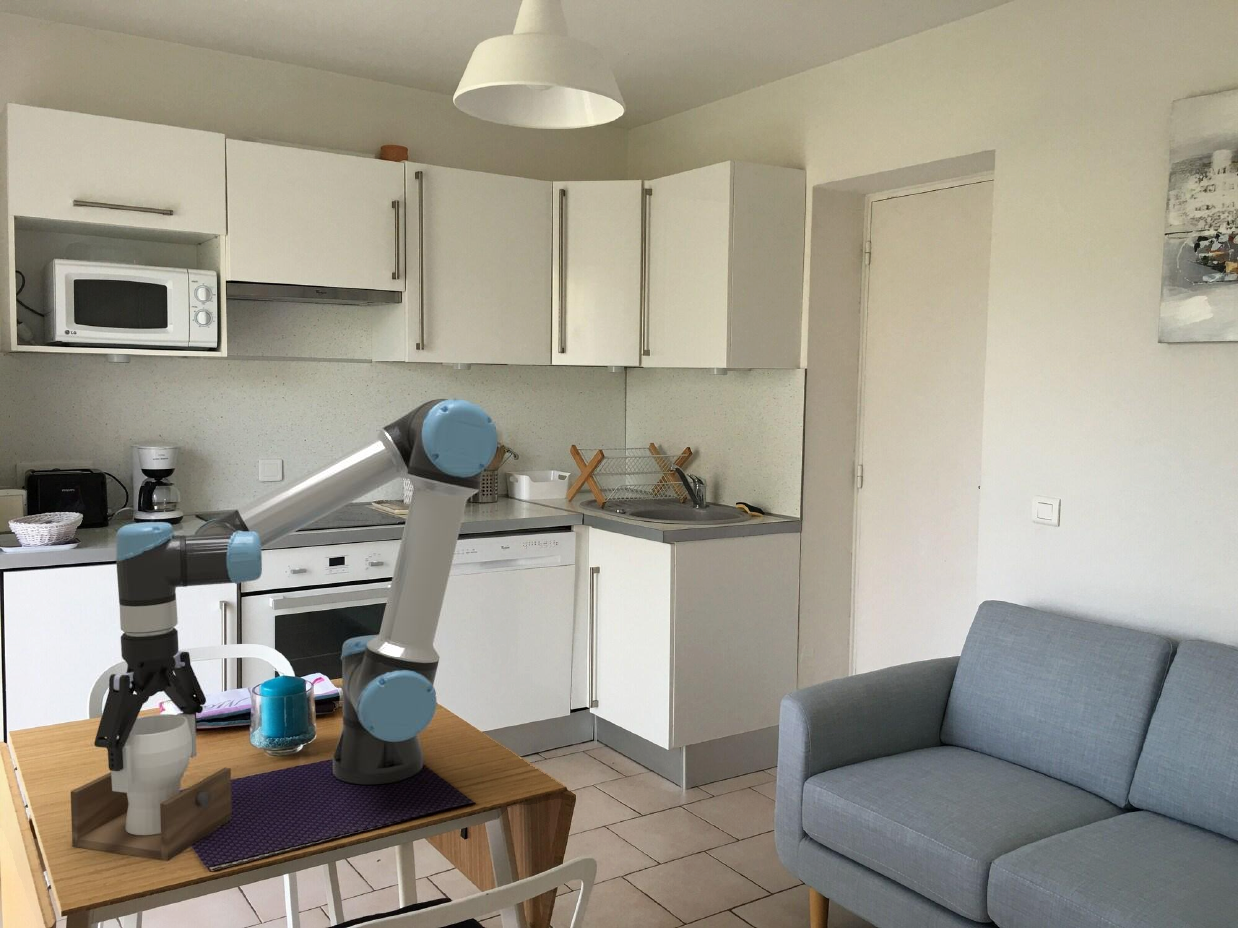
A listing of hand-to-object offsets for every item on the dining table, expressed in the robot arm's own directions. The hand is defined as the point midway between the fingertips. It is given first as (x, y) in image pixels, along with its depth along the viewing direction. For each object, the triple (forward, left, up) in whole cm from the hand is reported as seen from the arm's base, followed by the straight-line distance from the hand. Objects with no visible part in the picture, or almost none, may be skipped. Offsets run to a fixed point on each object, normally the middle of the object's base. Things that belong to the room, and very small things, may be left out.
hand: (156, 772), depth 149 cm
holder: (0, 0, -9) cm, 9 cm away
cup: (0, 0, -8) cm, 8 cm away
